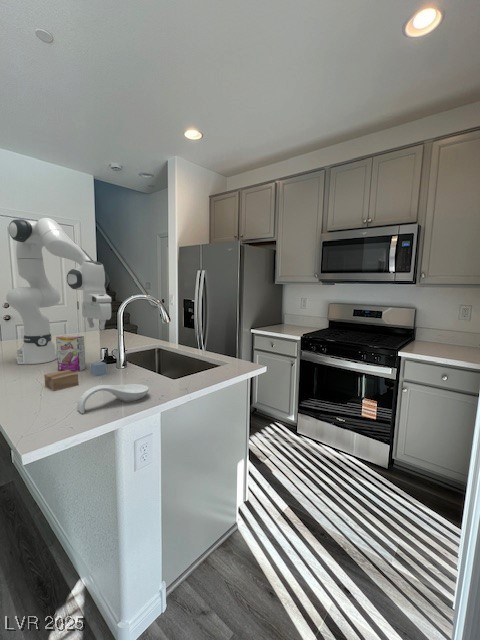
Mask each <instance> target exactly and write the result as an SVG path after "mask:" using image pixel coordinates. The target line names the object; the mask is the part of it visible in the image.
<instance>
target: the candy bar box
mask: <svg viewBox="0 0 480 640" xmlns="http://www.w3.org/2000/svg"><path fill="white" fill-rule="evenodd" d="M55 340H56V341H55V342H56V343H55V344H56V355H57V359H56V360H57V371H64V370H70V371H73V372H82V371H84V370H86V368H87V367H86V352H85V351H86V349H85V348H86V347H85V336H84V335H72V334H70V335H68V334H67V335H65V334H62V335H57V336H55Z"/></svg>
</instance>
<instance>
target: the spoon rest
mask: <svg viewBox="0 0 480 640" xmlns="http://www.w3.org/2000/svg"><path fill="white" fill-rule="evenodd" d="M149 390H150V387H149V386H148V385H145V384H139V383H128V384H127V383H126V384H115V385H114V384H100V385H99V384H98V385H96V386H93V387H91V388H89V389H87V390H86V391H85V392H83V394H82V395H81V396H80V397H79V400H78V401H77V405H76V409H77V411H78V412H79V413H80V414H85V412H86V411H85V410H86V408H85V407H86V402H87V400H88V399H89V398H90V397H91V396H92V395H94V394H95V393H97V392H100V391H102V392H103V391H105V392H109V393H111V394H112V395H114V396H115V397H117V398H118V399H120V400H121V401H123V402H128V403H129V402H135V401H138V400H140V399H142V398H143V397H145V396H146V395H147V394H148V392H149Z"/></svg>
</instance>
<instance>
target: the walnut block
mask: <svg viewBox="0 0 480 640" xmlns="http://www.w3.org/2000/svg"><path fill="white" fill-rule="evenodd" d="M44 386H45V387H46V388H48V389H50V390H51V391H53V392H56V391H60V390H64V389H67V388H71V387H77V386H79V373H77V372H76V371H70V370H64V371H63V370H58V371H54V372H51V373H50V372H49V373H45V374H44Z"/></svg>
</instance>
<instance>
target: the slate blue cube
mask: <svg viewBox="0 0 480 640" xmlns="http://www.w3.org/2000/svg"><path fill="white" fill-rule="evenodd" d="M89 366H90V367H89V368H90V375H92V376H94V377H99V376H103V375H106V374H107V373H108V371H107V368H108V367H107V362H103V361H96V362H93V363H89ZM107 375H108V374H107Z"/></svg>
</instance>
